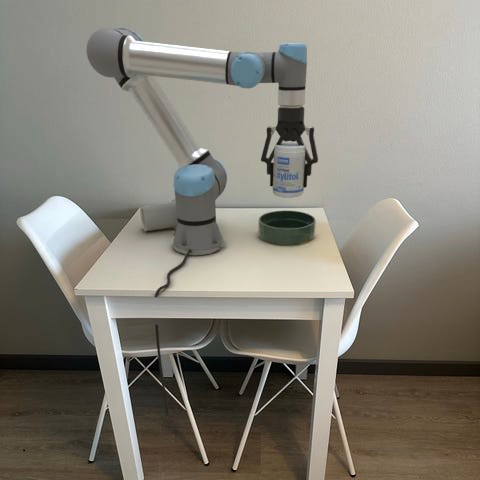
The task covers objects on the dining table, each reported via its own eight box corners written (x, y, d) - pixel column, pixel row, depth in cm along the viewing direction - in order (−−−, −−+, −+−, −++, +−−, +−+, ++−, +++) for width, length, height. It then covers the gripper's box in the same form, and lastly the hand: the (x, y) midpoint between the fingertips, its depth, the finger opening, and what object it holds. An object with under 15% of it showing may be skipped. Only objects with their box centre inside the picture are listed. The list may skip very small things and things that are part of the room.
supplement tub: (275, 199, 141) (276, 148, 133) (270, 190, 149) (271, 142, 141) (306, 197, 141) (309, 146, 134) (300, 189, 149) (302, 140, 142)
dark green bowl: (322, 243, 145) (323, 226, 143) (265, 248, 143) (265, 231, 140) (304, 224, 161) (305, 208, 158) (253, 228, 158) (253, 212, 155)
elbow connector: (189, 232, 152) (202, 213, 169) (180, 201, 147) (194, 184, 164) (140, 241, 156) (157, 222, 173) (129, 211, 151) (148, 194, 168)
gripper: (331, 104, 133) (325, 183, 145) (254, 104, 137) (254, 181, 149) (330, 108, 127) (324, 190, 139) (250, 107, 131) (250, 187, 142)
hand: (288, 185), depth 144 cm, fingers closed on supplement tub, 10 cm apart
